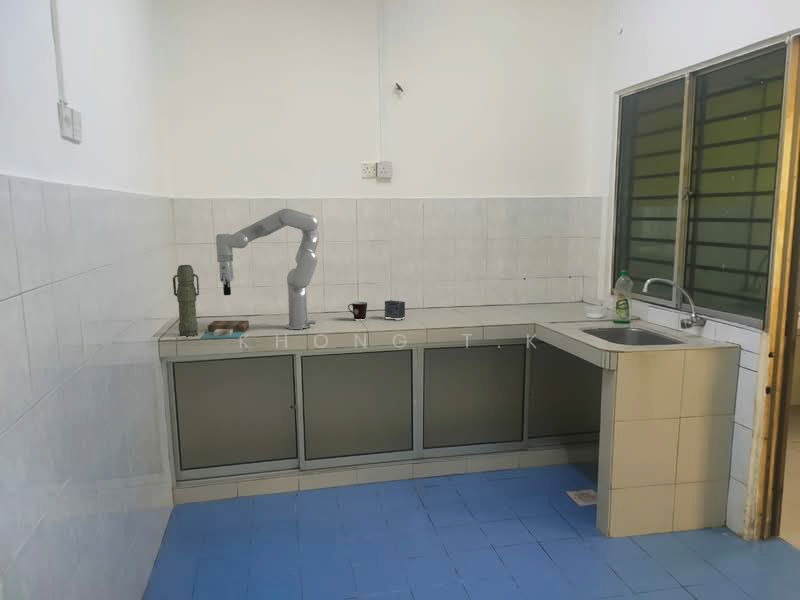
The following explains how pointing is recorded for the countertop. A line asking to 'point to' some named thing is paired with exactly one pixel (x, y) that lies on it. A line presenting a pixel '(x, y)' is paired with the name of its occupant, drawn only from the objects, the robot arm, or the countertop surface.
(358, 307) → the coffee mug
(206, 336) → the mat
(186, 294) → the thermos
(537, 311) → the countertop surface
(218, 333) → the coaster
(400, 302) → the small box
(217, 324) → the riser
